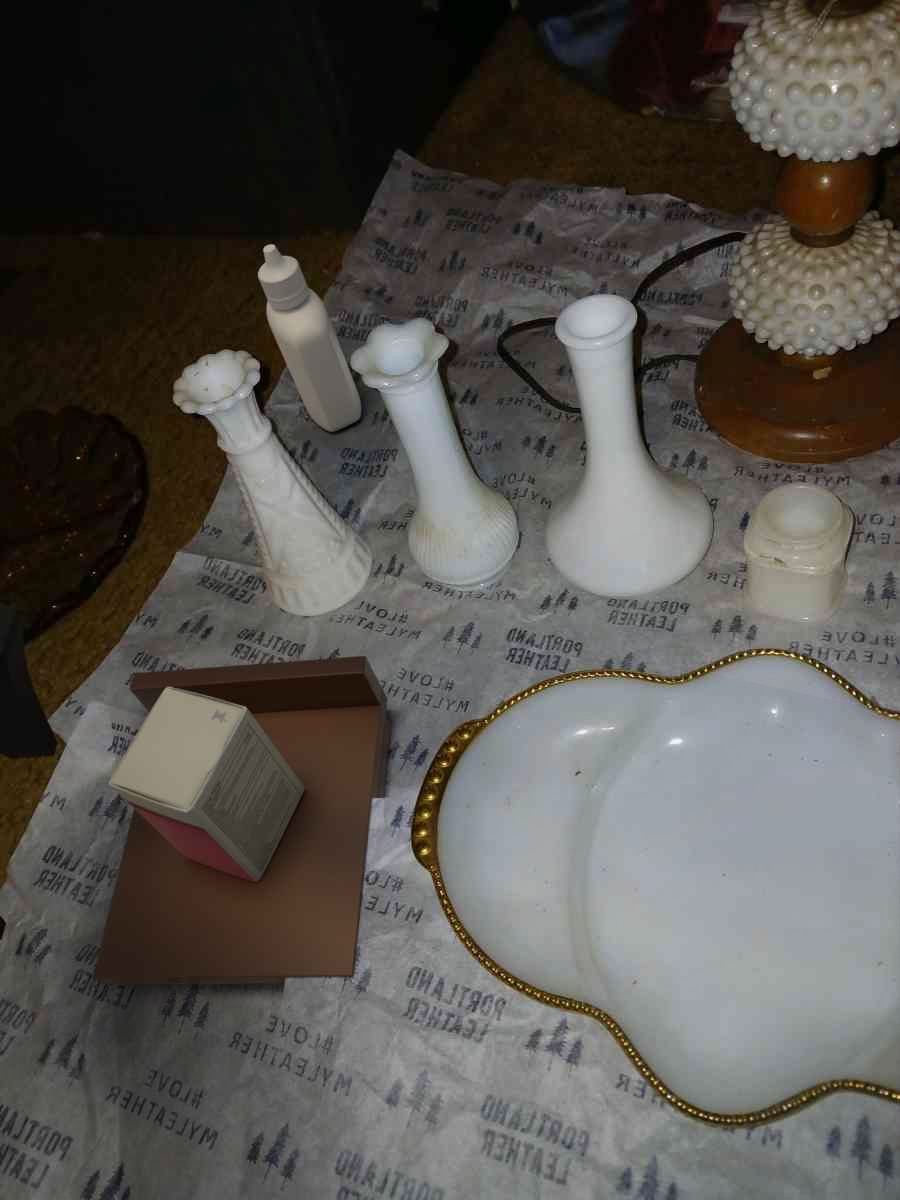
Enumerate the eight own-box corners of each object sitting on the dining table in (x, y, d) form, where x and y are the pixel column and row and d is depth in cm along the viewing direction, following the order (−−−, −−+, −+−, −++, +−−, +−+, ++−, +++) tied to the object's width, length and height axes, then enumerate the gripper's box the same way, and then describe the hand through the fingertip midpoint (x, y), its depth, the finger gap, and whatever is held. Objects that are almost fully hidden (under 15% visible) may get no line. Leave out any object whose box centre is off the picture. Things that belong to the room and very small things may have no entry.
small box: (233, 765, 52) (165, 680, 46) (309, 788, 50) (248, 704, 44) (182, 859, 50) (102, 783, 43) (259, 887, 48) (187, 812, 42)
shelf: (365, 989, 46) (330, 952, 42) (112, 991, 49) (57, 956, 45) (392, 708, 54) (365, 654, 50) (175, 722, 57) (133, 672, 53)
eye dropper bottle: (371, 371, 70) (314, 212, 61) (359, 433, 67) (296, 275, 57) (309, 377, 71) (243, 222, 62) (293, 438, 68) (221, 285, 58)
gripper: (-225, 879, 26) (53, 1026, 37) (-44, 453, 35) (140, 672, 46) (-456, 891, 28) (-124, 1030, 39) (-227, 479, 36) (-8, 685, 47)
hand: (8, 836), depth 42 cm, fingers open, 7 cm apart
